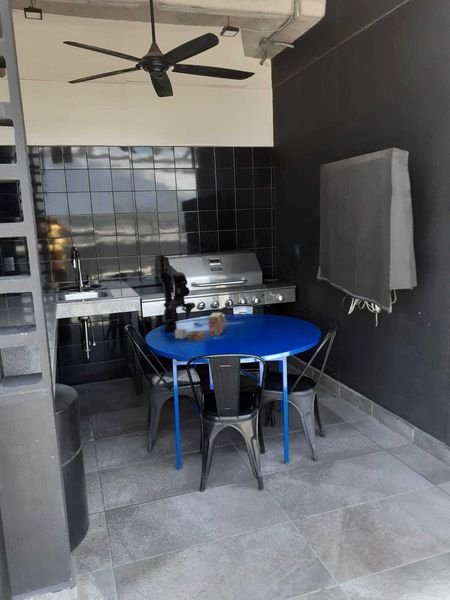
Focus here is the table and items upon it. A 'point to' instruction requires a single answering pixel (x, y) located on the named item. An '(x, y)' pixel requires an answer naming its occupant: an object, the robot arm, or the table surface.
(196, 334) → the walnut block
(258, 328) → the table surface
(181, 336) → the cream cube
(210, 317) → the stack of blocks
